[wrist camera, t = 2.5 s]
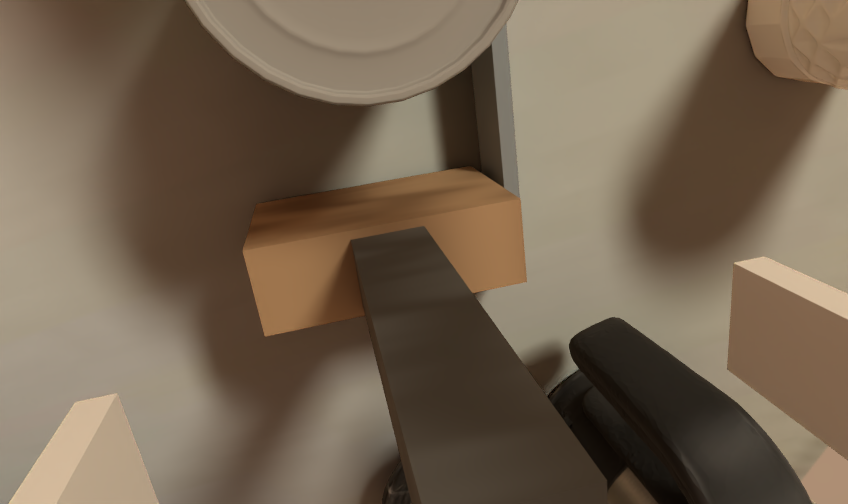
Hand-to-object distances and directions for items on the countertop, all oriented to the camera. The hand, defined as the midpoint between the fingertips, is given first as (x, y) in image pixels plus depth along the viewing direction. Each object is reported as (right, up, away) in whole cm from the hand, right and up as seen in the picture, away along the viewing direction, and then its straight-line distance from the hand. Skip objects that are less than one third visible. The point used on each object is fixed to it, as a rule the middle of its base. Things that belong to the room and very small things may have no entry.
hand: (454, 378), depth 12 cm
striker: (-3, +4, +13) cm, 14 cm away
